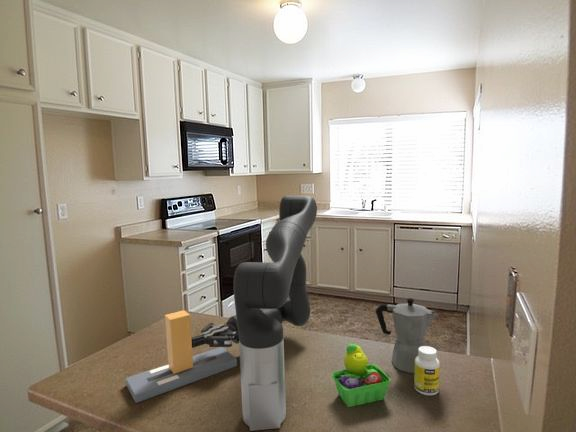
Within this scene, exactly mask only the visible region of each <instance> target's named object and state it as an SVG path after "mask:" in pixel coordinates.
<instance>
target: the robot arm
mask: <svg viewBox="0 0 576 432" xmlns="http://www.w3.org/2000/svg"><path fill="white" fill-rule="evenodd" d="M278 211H279V212H278V213H279V214H278V215H279V220H278V222H277V223H276V224H274V226H273V227H272V229H271V230H270V232H269V234H268V236H267V237H266V240H265V249H266V252H267V255H268V256H269V258H270V259H271V261H272V262H263V261H262V262H261V261H259V262H257V261H256V262H255V261H253V262H252V261H247V262H246V261H245V262H241V263H239V264H238V265H237V266H236V268H235V272H234V276H233V300H234V306H235V307H234V309H235V315H231V316H230V317H228V319H227V322H225V323H219V324H218V325H215V324H214V322H210V323H208V324H207V325H205V327H204V328H202V329H200V334H199V335H196V336H191V340H192V349H193V348H197V347H201V346H208V347H210V348H219V347H223V348H230V347H233V343H234V344H237V345H238V344H239V347H238V348H239V369H240V371H239V372H240V387H241V388H240V389H241V391H240V392H241V407H242V409H241V410H242V420H243V422H244V423H245V425H247V426H248V427H249V431H263V430H264V431H265V430H273V429H275V430H276V429H280V428H281V427H282V426H281V424H282V423H283V422H284V421H285V419H286V416H287V405H286V403H287V402H286V401H287V400H286V379H285V378H286V377H285V374H286V373H285V347H284V346H285V345H284V344H285V342H284V340H285V339H284V336H285V335H284V326H283V322H287V323H289V324H292V325H293V326H295V327H303V326H304V325H306V324H307V322H308V321H309V319H310V317H311V305H310V300H309V296H308V291H307V266H306V265H307V264H306V262H305V259H304V257H303V255H302V252H303V248H304V246H305V242H306V240H307V236H308V233H309V232H310V230H311V229H312V227H313V225H314V223H315V221H316V218H317V213H318V206H317V201H316V200H315V198H313V196H310V195H283V197H282V198H281V199H280V203H279V210H278ZM288 297H289V298H288Z"/></svg>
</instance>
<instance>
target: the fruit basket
mask: <svg viewBox="0 0 576 432" xmlns="http://www.w3.org/2000/svg"><path fill="white" fill-rule="evenodd" d="M343 362H344V367H345V369H342V370H337V371H334V372H332V373H331V375H332V378H333V380H334V383H335V386H336V390H337V393H338V396H339V397H340V398H341V400H342V401H343V403H344V404H345V405H346V406H347V408H352V407H354V406H360V405H365V404H370V403H374V402H376V401H383V400H385V396H386V393H387V390H388V386H389V385H390V383H391V378H390V377H389V376H388V375H387V374H386V373H385V372H384V370H382V369H381V368H380V367H379V366H378V365H376V364H373V363H372V364H369V360H368V357H367V355H366V353H364V352H363V350H362V348H361V346H359V345H357V344H355V343H354V342H353V343H349V344H348V345H347V346H346V353H345V357H344V361H343Z"/></svg>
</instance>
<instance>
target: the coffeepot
mask: <svg viewBox="0 0 576 432" xmlns="http://www.w3.org/2000/svg"><path fill="white" fill-rule="evenodd" d="M406 301H407V303H397V304H396V305H395V304H386V303H385V304H384V303H381V304H379V306H378V307H377V308H376V309H375V314H376V316H377V319H378V322H379V325H380V328H381V331H382V333H383V334H384V335H391V334H392V331H390V330H388V329H387V324H386V322H385V316H384V313H383V312H387V313H390V314H392V319H393V324H394V332H395V334H396V338H395V340H394V345H393V346H394V347H393V350H392V355H391V363H392V365H393V366H394V367H395V368H396V369H398V370H399V371H401V372H405V373H410V374H415V358H416V357H417V356H418V349H419V347H421V346H426V344H425V343H426V342H425V341H424V337H425V336H426V334H427V329H428V326H429V325H430V324H431V322H432V321H433V319H434V318H435V317H438V316H439V315H438V312H436V311H434V310H431V309H428V308H427V307H426V306H424V305H419V304H415V303H414V298H412V297H407V298H406Z"/></svg>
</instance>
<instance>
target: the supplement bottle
mask: <svg viewBox="0 0 576 432" xmlns="http://www.w3.org/2000/svg"><path fill="white" fill-rule="evenodd" d="M437 353H438V352H437V349H436V348H434V347H432V346H428V345H425V346H421V347H419V349H418V356H417V357H416V358H415V373H414V379H413V380H414V382H413V386H414V389H415V390H416V391H417V392H418V393H419V394H422V395H425V396H436V395H437V394H438V393H439V392H440V391H439V389H440V371H441V369H440V367H441V365H440V361H439V359H438V358H437V356H438V355H437Z"/></svg>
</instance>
